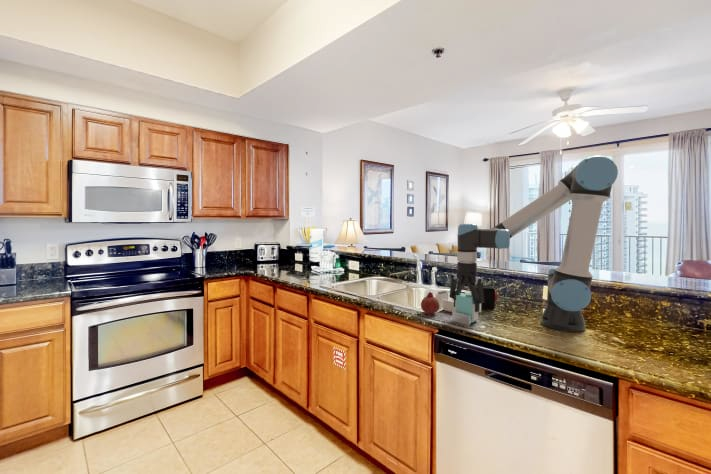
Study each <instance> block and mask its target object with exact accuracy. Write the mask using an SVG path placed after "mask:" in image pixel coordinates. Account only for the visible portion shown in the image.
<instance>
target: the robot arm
mask: <svg viewBox="0 0 711 474" xmlns="http://www.w3.org/2000/svg"><path fill="white" fill-rule="evenodd" d="M618 174H619V169H618V166H617V165H616V163H615V162H614V161H613V160H612V159H611V158H609V157H607V156H604V155H592V156H589V157H586V158H584V159H582V160H581V161H580V162H578V164H577V165H576V166H575V167H574V168H573V169H572V170H571V171H570V172H569V173H567V174H566V175H565V176H564V177H563V178H561V179H560V180H558V183H557V185H555V186H554V187H552V188H551V189H549V190H548V191H546V192H545V193H544V194H542V195H540V196H539V197H538V198H535V199H534V200H532V201H531V202H530V203H528V204H527V205H525V206H523V208H521V209H519V210H517V211H516V212H515V213H513V214H511V215H510V216H509V217H507V218H506V219H504V220H503V221H501V222H500V223H498V224H496V225H495V226H493V227H492V228H483V229H482V228H479V227H478V224H476V223H461V224H459V225H458V226H457V253H456V255H457V257H456V258H457V259H456V260H457V261H458V262H457V263H456V266H457V267H456V268H457V269H456V270H457V273H453V274H450V280H451V281H450V286H449V287H450V288H449V294H448V297H449V298H450V299H451V298H453V299H454V307H455V311H456V295H458V294H462V291H463V288H464V286H465V285H466V286H468V288H469V290H470V294H472V297H473V300H474V304H473V305H472V320H476V319H477V312H478V313H480V312H479V308H480V304H481V303H483V302H484V291H483V286H484V280H485V279H484V277H479V276H478V275H477V267H478V265H477V261H478V260H477V259H478V258H477V257H478V248H479V249H481V248H483V249H498V250H502V249H508V248H509V247H510V243H511V240H510V239H512V238H514V236H516V235H518V234H519V233H520V232H522V231H524V230H526V229H527V228H529V227H530V226H532V225H533V224H535V223H537V222H538V221H539V220H542V219H543V218H544V217H546V216H549V214H551V213H553V212H555V211H556V210H557V209H559V208H561V207H562V206H564V205H566V204H567V203H569V202H570V201H573V202H572V207H571V211H570V216H569V221H568V226H567V231H566V236H565V241H564V246H563V251H562V257H561V261H560V265H558V266H557V267H555V268H553V267H552V268H549V270H548V274H547V296H546V298H547V299H546V306H545V308H544V310H543V312H542V315H541V320H540V321H541V322H540V323H541V325H543V326H544V327H547V328H550V329H553V330H556V331H561V332H567V333H568V332H569V333H570V332H571V333H578V332H583V331H585V330H586V321H585V317H584V315H583V312H582V310H584V309H585V308H586V307H587V306H589V304H590V302H591V300H592V292H591V287H592V281H593V278H594V276H593V274H592V273H591V272H590V265H591V260H592V257H593V256H592V255H593V252H594V251H593V250H594V246H595V242H596V237H597V232H598V227H599V223H600V218H601V212H602V207H603V203H604V202H606V201H607V200H609V199H610V197H611V192H612V188H613V184H615V182H616V180H617V179H618ZM475 286H477V290H478V293H477V290H476V287H475Z"/></svg>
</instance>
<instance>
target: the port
mask: <svg viewBox="0 0 711 474" xmlns="http://www.w3.org/2000/svg"><path fill="white" fill-rule="evenodd" d="M435 298H437V300H438V302H439V309H440V308H442V310H443V311H446V312H451V313H452V311H455V307H454V299H453V298H450V299H451V300H450V299H449V291H448V290H440V291H437V293H435ZM478 313H482V309H481V304H480V308H479V312H478Z"/></svg>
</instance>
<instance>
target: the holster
mask: <svg viewBox="0 0 711 474" xmlns="http://www.w3.org/2000/svg"><path fill="white" fill-rule="evenodd" d="M451 314H452V316H451V322H454V323H457V324H458V323H459V324H462V325H464V326H465V325H466V326H468V327H469V326H471V325H472V323H471V315H468V314H464V313H460V312H456V311H452V312H451ZM474 323H479V312H477V319H476V321H475V322H474Z"/></svg>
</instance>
